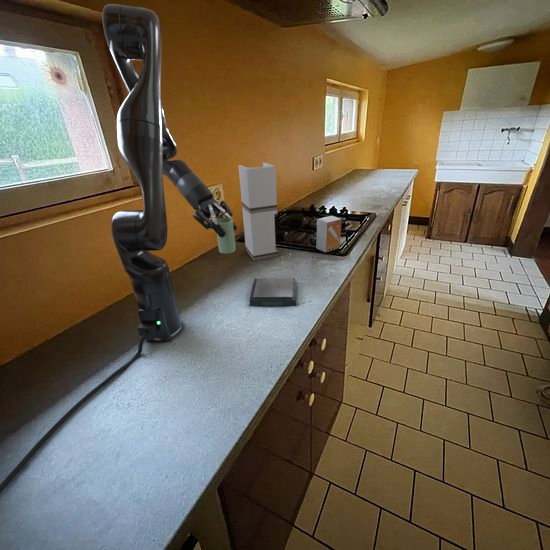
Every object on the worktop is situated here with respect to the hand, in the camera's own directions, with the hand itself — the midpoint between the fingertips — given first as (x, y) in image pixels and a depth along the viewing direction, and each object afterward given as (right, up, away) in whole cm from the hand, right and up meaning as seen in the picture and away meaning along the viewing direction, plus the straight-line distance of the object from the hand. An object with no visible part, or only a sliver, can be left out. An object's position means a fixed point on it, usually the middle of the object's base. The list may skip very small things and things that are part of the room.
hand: (229, 232), depth 94 cm
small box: (+37, -2, +35) cm, 51 cm away
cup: (-1, -5, +4) cm, 7 cm away
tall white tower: (+9, -4, +33) cm, 34 cm away
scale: (+14, -19, +3) cm, 24 cm away
